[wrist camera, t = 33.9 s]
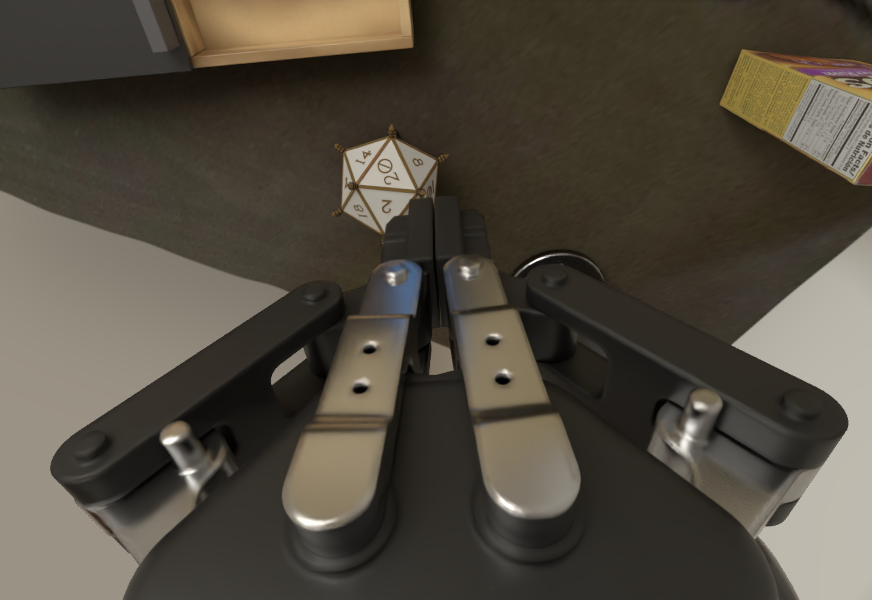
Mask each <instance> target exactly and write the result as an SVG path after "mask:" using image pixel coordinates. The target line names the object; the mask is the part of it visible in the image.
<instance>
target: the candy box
mask: <svg viewBox="0 0 872 600" xmlns="http://www.w3.org/2000/svg"><path fill="white" fill-rule="evenodd" d="M720 106H722V107H724V108H726V109H727V110H729V111H730V112H732V113H734V114H736V115H737V116H739V117H741V118H742V119H744V120H746V121H747V122H749V123H750V124H752V125H754V126H756V127H757V128H759V129H761V130H762V131H764V132H766V133H767V134H769V135H771V136H773V137H774V138H776V139H778V140H779V141H781V142H783V143H784V144H786V145H788V146H790V147H791V148H793V149H794V150H796V151H798V152H799V153H801V154H803V155H805V156H806V157H808V158H810V159H812V160H813V161H815V162H817V163H819V164H820V165H822V166H824V167H825V168H827V169H829V170H830V171H832V172H834V173H836V174H837V175H839V176H841V177H842V178H844V179H846V180H847V181H849V182H851V183H852V184H854V185H866V186H872V65H870V64H867V63H863V62H860V61H855V60H844V59H830V58H818V57H808V56H798V55H788V54H779V53H769V52H759V51H751V50H744V49H743V50H741V53H740V56H739V58H738V60H737V63H736V65H735V67H734V70H733V72H732V74H731V77H730V79H729V82H728V84H727V87H726V89H725V91H724V94H723V96H722V98H721V101H720Z"/></svg>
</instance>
